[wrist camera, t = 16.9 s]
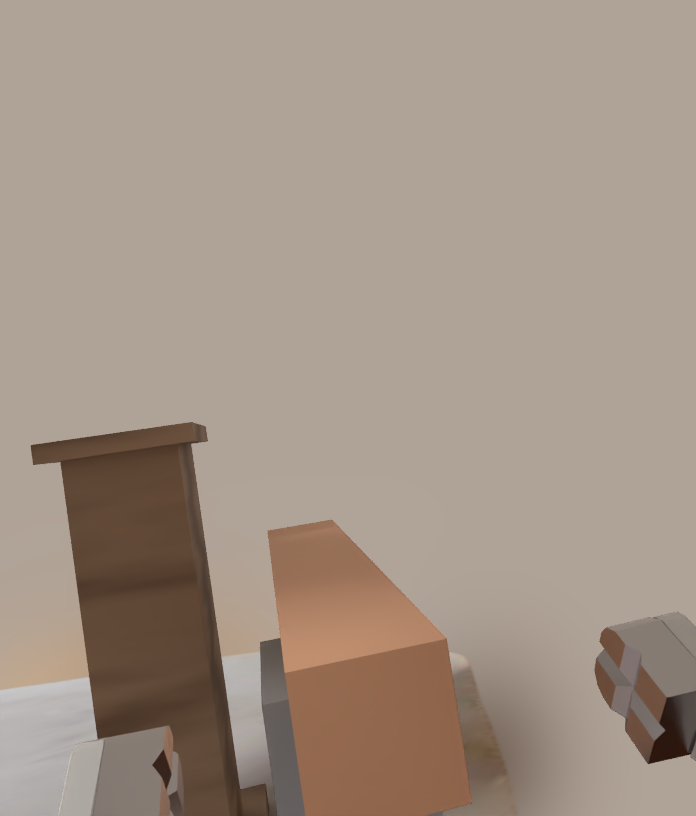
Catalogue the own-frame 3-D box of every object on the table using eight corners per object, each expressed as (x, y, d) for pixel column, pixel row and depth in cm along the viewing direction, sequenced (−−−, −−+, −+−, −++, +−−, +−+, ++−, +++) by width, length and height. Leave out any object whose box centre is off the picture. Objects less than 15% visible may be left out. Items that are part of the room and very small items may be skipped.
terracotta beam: (472, 803, 15) (446, 638, 15) (309, 845, 14) (285, 673, 14) (341, 584, 37) (331, 519, 38) (277, 596, 37) (267, 530, 37)
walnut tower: (273, 937, 30) (199, 420, 31) (83, 990, 29) (12, 446, 30) (268, 805, 41) (214, 425, 42) (131, 839, 40) (77, 445, 40)
